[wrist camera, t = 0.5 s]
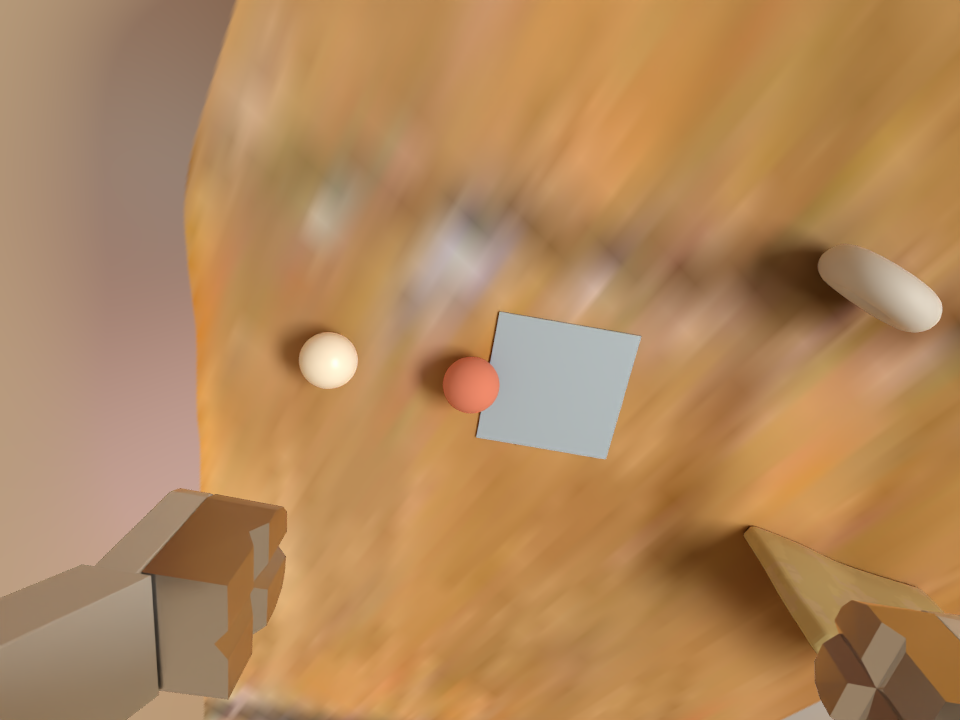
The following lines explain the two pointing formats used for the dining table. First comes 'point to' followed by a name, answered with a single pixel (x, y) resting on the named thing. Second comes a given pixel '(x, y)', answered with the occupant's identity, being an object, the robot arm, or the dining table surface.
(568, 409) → the mark
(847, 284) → the donut
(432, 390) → the dining table surface
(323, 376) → the cue ball
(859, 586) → the olive tan box
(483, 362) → the red ball
